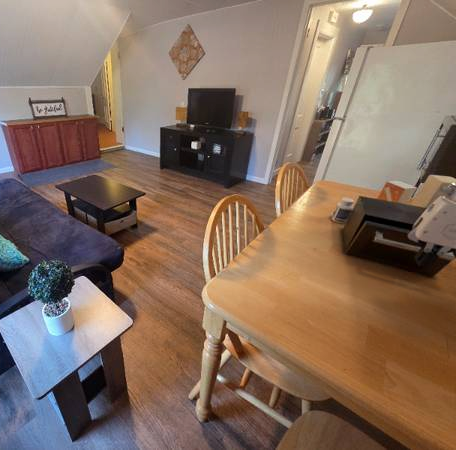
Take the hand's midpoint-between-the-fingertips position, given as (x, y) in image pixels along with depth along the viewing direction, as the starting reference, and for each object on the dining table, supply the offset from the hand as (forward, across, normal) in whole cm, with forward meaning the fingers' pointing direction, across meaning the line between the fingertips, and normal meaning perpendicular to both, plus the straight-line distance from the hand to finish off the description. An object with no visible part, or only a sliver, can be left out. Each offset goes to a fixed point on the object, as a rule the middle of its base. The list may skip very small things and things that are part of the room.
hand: (420, 263), depth 61 cm
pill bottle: (+12, -12, +41) cm, 45 cm away
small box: (+12, +8, +62) cm, 64 cm away
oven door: (+13, 0, +14) cm, 19 cm away
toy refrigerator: (+12, +14, +49) cm, 53 cm away
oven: (+12, 0, +25) cm, 28 cm away
